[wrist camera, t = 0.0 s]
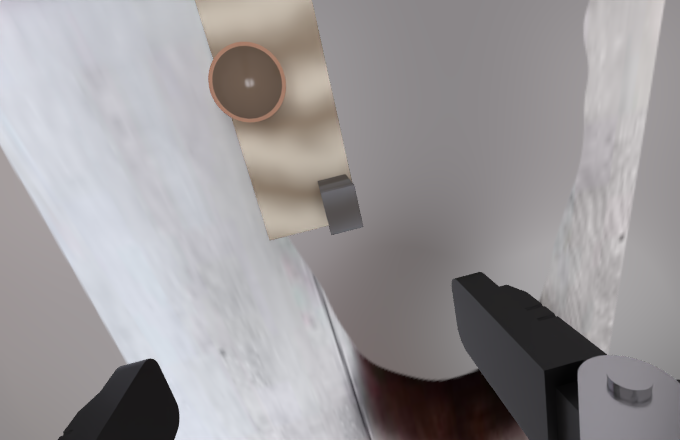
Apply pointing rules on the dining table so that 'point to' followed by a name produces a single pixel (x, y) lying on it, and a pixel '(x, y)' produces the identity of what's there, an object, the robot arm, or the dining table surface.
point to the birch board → (290, 119)
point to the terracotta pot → (247, 82)
